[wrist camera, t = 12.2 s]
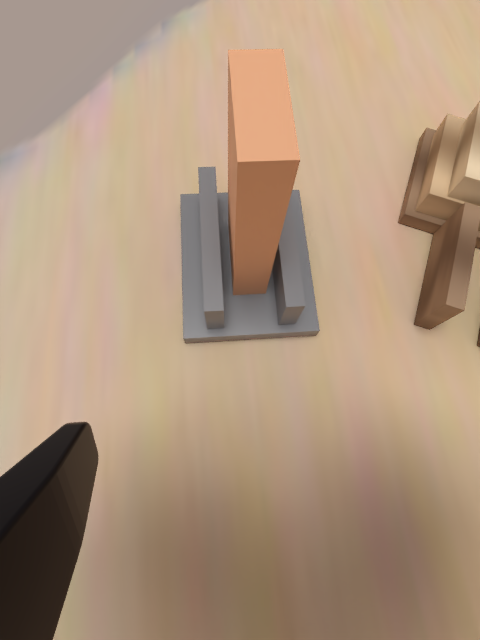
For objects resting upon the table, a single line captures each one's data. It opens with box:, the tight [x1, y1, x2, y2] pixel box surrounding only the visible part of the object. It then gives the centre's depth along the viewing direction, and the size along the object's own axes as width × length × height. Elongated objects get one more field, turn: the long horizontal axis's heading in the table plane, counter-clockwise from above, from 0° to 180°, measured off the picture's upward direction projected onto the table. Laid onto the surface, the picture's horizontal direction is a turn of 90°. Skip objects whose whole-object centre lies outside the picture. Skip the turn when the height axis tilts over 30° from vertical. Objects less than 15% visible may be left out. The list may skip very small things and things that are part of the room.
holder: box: [181, 167, 320, 343], centre depth 22 cm, size 10×8×4 cm
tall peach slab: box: [228, 49, 300, 295], centre depth 17 cm, size 5×2×11 cm, turn 4°
